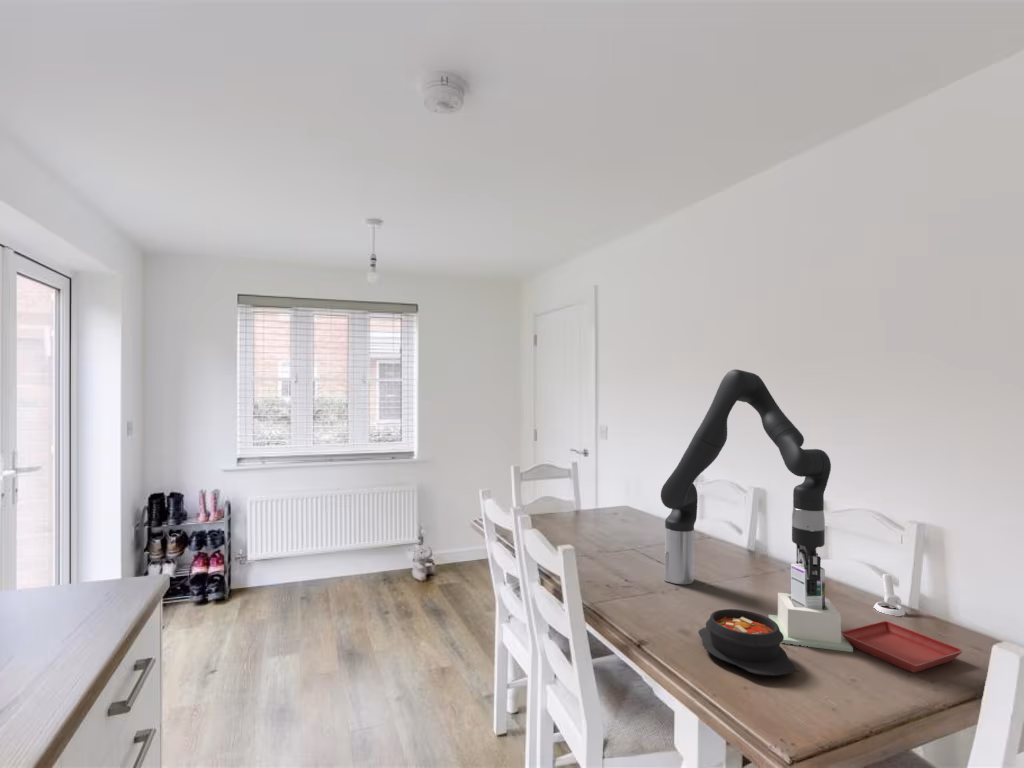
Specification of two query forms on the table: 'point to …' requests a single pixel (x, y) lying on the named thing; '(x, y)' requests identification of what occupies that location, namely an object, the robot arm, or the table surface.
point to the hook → (889, 598)
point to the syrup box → (800, 589)
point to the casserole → (746, 642)
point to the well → (810, 625)
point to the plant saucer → (901, 646)
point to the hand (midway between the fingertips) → (807, 589)
